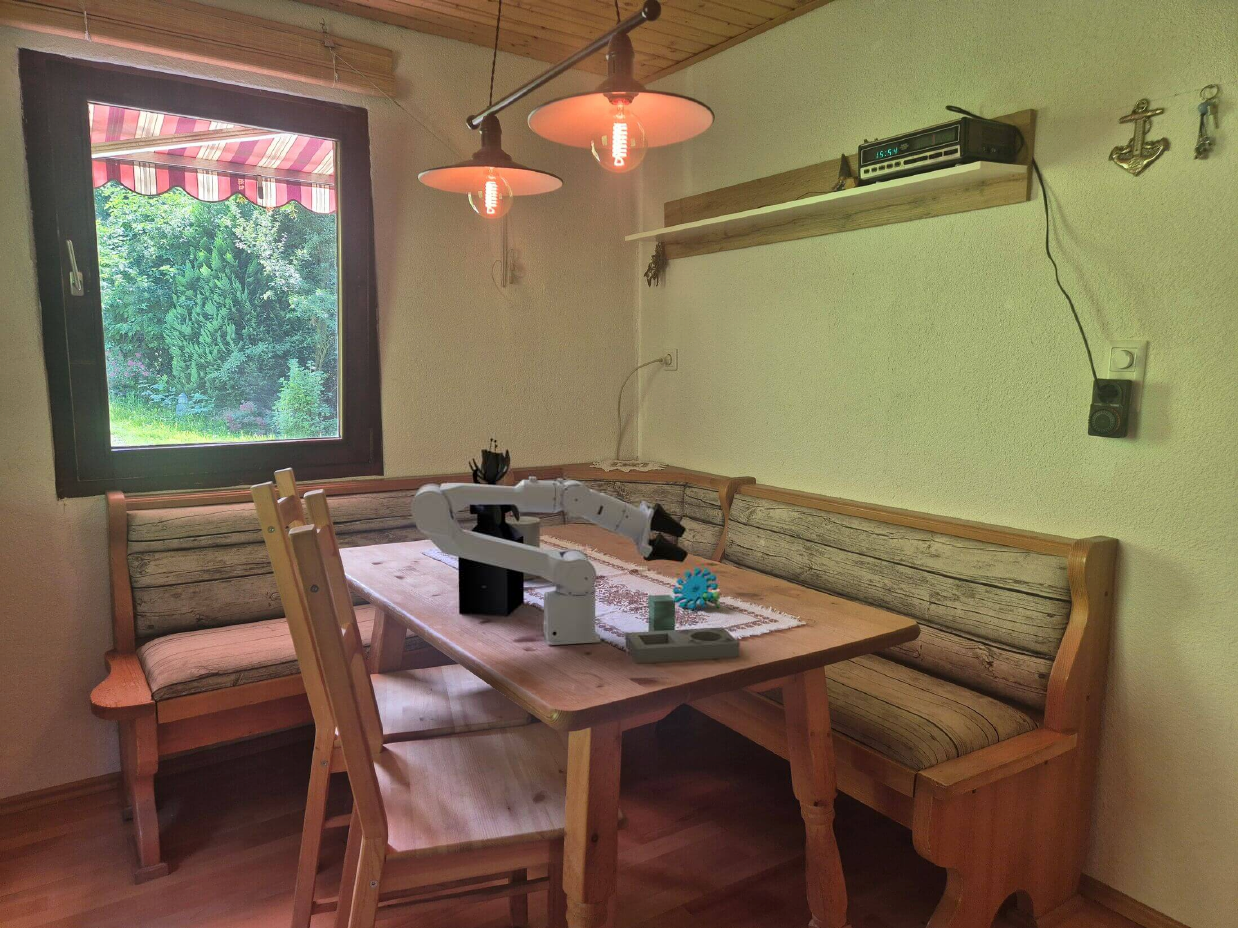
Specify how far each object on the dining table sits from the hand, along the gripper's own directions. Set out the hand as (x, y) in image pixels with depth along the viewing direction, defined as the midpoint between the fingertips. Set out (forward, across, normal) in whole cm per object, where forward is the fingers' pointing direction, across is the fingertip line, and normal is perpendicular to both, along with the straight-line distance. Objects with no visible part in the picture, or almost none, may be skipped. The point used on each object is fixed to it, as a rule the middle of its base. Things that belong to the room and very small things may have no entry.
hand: (684, 544), depth 154 cm
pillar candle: (-18, +31, +46) cm, 58 cm away
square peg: (+3, -8, +15) cm, 17 cm away
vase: (-25, +6, +36) cm, 44 cm away
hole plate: (+4, -17, +10) cm, 20 cm away
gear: (+14, +9, +19) cm, 25 cm away
